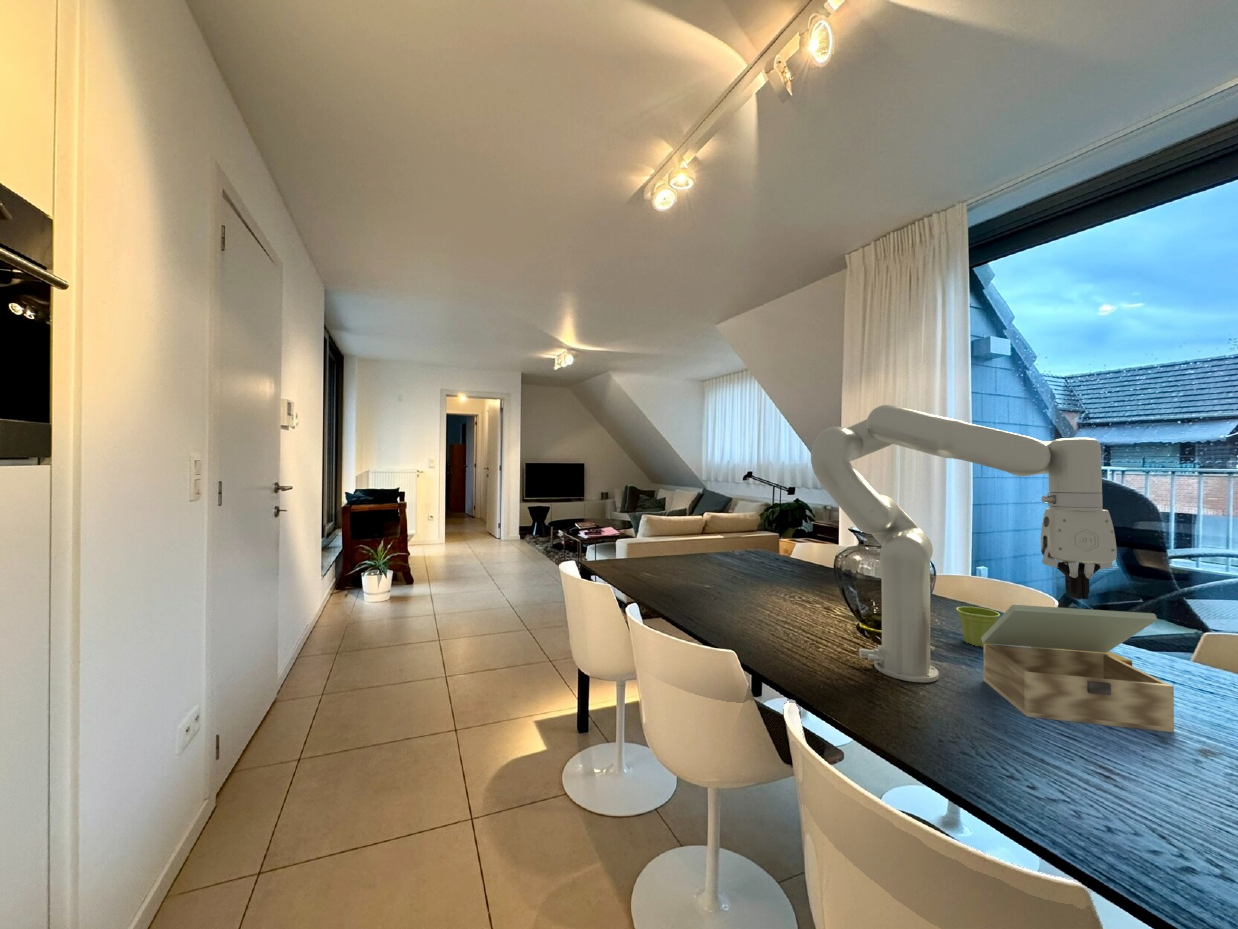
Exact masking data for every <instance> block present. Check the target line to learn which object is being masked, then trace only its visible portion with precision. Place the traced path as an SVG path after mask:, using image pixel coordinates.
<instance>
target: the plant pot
mask: <svg viewBox="0 0 1238 929" xmlns="http://www.w3.org/2000/svg"><path fill="white" fill-rule="evenodd" d="M955 610H956V612H957V613H958V617H959V619H960V624H961V630H962V637H963V642H964V641H965V642H964V643H966V644H968V643H970V644H972V645H971V646H973V645H975V646H974V647H977V646H981V647H980V648H984V644H987V643H982V640H981V637H982V636H983V635H984V634H985V633H986V632H987V631H988V630H989V629H990V628H991V627H992V626H993V625H994V623H995V622H996V621H997V620H998V619H999V618H1000V617H1001V614H1000V613H999V612H998V611H995V610H992V609H987V608H985V607H984V608H983V607H978V606H977V607H976V606H957V607H956V609H955ZM970 644H969V645H970Z"/></svg>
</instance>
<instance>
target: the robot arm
mask: <svg viewBox="0 0 1238 929" xmlns="http://www.w3.org/2000/svg"><path fill="white" fill-rule="evenodd" d="M892 445H896V446H899V447H903V448H905V449H911V450H915V451H917V452H922V453H925V454H929V455H932V456H935V457H940V458H942V459H943V458H944V459H945V458H946V459H954V460H961V461H965V462H968V463H973V464H976V465H981V466H984V467H987V468H991V469H994V470H998V471H999V470H1000V471H1002V472H1007V473H1008V474H1011V475H1014V476H1016V477H1017V476H1019V477H1029V476H1030V477H1031V476H1035V475H1036V476H1037V475H1047V474H1048V492H1047V495H1043V496H1041V502H1042V503H1046V504H1047V506H1048V508H1045V510H1044V514H1043V517H1042V522H1041V523H1042V524H1041V530H1040V531H1041V532H1040V552H1041V555H1042V556H1043V557H1042V560H1041V563H1042V564H1043V565H1046V566H1048V567H1053V568H1056V569H1057V570H1058V571H1059V572H1061V574H1062V575H1064V586H1065V592H1066V595H1067V596H1068V597H1072V598H1074V599H1075V600H1081V599H1082V600H1089V594H1090V579H1092V578H1093V576H1094V574H1095V573H1096V572H1098V571H1099V570H1104V569H1109V568H1112V567H1113V563H1114V562H1115V561H1116V560H1117V557H1118V556H1117V555H1118V553H1117V542H1116V541H1117V540H1116V534H1115V529H1114V525H1113V521H1112V518H1111V514H1110V512H1109V510H1108V509H1103V480H1102V479H1103V476H1102V474H1103V472H1102V447H1101V443H1100V441H1098V439H1096V438H1093V437H1092V438H1091V437H1070V438H1058V439H1057V438H1056V439H1054V440H1051V441H1047V440H1046V441H1044V440H1043V441H1042V440H1039V439H1037V438H1035V437H1034V438H1033V437H1031V436H1027V435H1021V434H1018V433H1013V432H1009V431H1005V430H1001V429H996V428H991V427H986V426H982V425H977V424H973V423H969V422H965V421H963V420H958V419H953V418H950V417H945V416H944V417H943V416H941V415H940V416H939V415H936V414H931V413H927V412H923V411H919V410H914V409H910V408H905V407H901V406H897V405H892V404H883V405H879V406H876V407H875V408H873V409H872V411H871V412H870V413H869V414H868V416H867V417H866V419H864V420H862V421H860V422H858V423H856V424H853V425H851V426H848V427H843V426H831V427H827V428H825V429H824V430H822V431H821V432H820V433H819V434H818V436H816V438H815V440H814V442H813V444H812V448H811V451H810V462H811V468H812V471H813V473H814V475H815V477H816V479H817V481H818V482H819V483H820V484H821V486H822V487H823V488H824V490H825V491H826V492H827V493H828V494H829V496H830V497H832V499H833V501H834V502H835V503H836V505H838V506H839V507H840V509H841V510H842V512H843V513H844V514H845V515H846V516H847V517H848V519H849V520H850V521H851V523H853V525H854V526H855V527H856V528H857V529H858V530H859V531H861V532H863V533H864V534H867V535H872V536H873V538H874V539H875V540H876V541H877V542H878V543H879V545H880V546H881V549H880V553H879V554H880V555H879V562H880V566H879V567H880V575H881V576H880V578H881V644H878V645H877V648H873V649H868V648H859V649H858V656H859V657H860V658H865V659H867V660H868V661H870V662H871V661H872V662H874V663H873V664H874V665H873V666H874V668H875V669H876V670H877V671H879V672H880V673H882V674H884V675H886V676H888V677H890V678H894V679H898V680H902V681H905V682H913V683H932V682H935V681H938V680H939V678H940V672H939V670H938V669H937V668H935V666H934V665H931V558H932V556H933V552H934V550H933V548H934V547H933V544H932V542H931V540H930V538H929V536H928V535H927V534H926V533H925V532H924V531H923V530H922V529H921V528H920V526H918V524H917V523H915V521H914V520H913V519H912V518H911V517H910V516H909V514H907V513H906V512H905V510H903V508H902V507H901V506H900V505H899V504H898V503H897V502H896V501H894V499H893V498H891V497H889V496H887V495H885V494H881V493H878V492H877V490H875V489H874V488H873V486H871V485H870V484H869V482H867V480H866V479H865V478H864V477H863V476H862V474H861V473H860V472H859V471H857V470H856V468H855V467H854V466H853V465H852V463H851V462H853V461H856V460H859V459H861V458H863V457H865V456H868V455H870V454H873V453H875V452H878V451H880V450H883V449H885V448H887V447H890V446H892Z"/></svg>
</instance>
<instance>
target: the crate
mask: <svg viewBox="0 0 1238 929" xmlns="http://www.w3.org/2000/svg"><path fill="white" fill-rule="evenodd" d="M983 682H985V684H987V685H989V687H991V688H992V689H993V690H994V691H995V692H997V693H998V694H999V695H1000V696H1001V697H1003V698H1004V699H1005V700H1007V701H1008V702H1009V703H1010V704H1011V705H1013V707H1015V708H1016V709H1017V710H1019V711H1020V712H1021V713H1022V714H1023V715H1025V716H1026V717H1028V718H1036V719H1046V720H1055V721H1065V722H1066V721H1067V722H1073V723H1083V724H1093V725H1101V726H1112V727H1119V728H1127V729H1128V728H1130V729H1137V730H1139V729H1140V730H1147V731H1159V732H1167V733H1175V712H1174V711H1175V710H1174V709H1175V698H1174V697H1175V696H1174V694H1175V692H1174V691H1175V690H1174V688H1175V687H1174V686H1173V685H1171V684H1169V683H1167V682H1165V681H1164V680H1161V679H1159V678H1157V677H1155V676H1153V675H1151V674H1149V673H1148V672H1145V671H1143V670H1141V669H1139V668H1137V667H1134V666H1133V665H1132V666H1130V665H1128V664H1126V663H1124V662H1122V661H1120V660H1118V659H1116V658H1114V657H1112V656H1110V655H1108V654H1106V653H1095V652H1082V651H1070V650H1057V649H1044V648H1032V647H1025V646H1013V645H1000V644H984V647H983Z"/></svg>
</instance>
